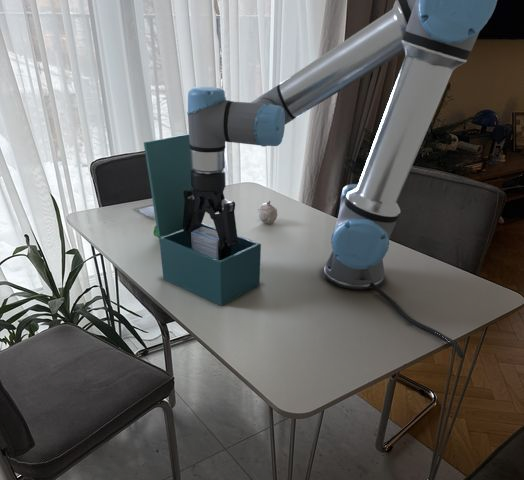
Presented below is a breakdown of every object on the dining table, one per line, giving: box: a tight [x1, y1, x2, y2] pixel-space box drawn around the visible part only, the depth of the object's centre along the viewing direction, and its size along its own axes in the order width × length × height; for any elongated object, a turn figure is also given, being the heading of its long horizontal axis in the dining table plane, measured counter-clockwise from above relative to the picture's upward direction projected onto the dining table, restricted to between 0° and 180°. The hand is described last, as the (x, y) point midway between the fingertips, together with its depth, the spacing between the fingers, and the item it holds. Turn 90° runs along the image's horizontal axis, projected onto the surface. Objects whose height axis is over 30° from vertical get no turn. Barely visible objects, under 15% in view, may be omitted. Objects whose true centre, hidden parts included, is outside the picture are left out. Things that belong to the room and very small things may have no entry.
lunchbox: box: [158, 222, 262, 307], centre depth 114 cm, size 20×14×11 cm
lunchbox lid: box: [143, 133, 192, 236], centre depth 110 cm, size 20×14×1 cm
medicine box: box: [191, 227, 226, 260], centre depth 112 cm, size 8×4×9 cm, turn 58°
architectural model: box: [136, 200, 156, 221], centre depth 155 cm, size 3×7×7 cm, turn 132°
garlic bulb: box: [257, 200, 278, 225], centre depth 149 cm, size 7×6×8 cm
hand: (210, 265), depth 115 cm, fingers closed on medicine box, 8 cm apart
